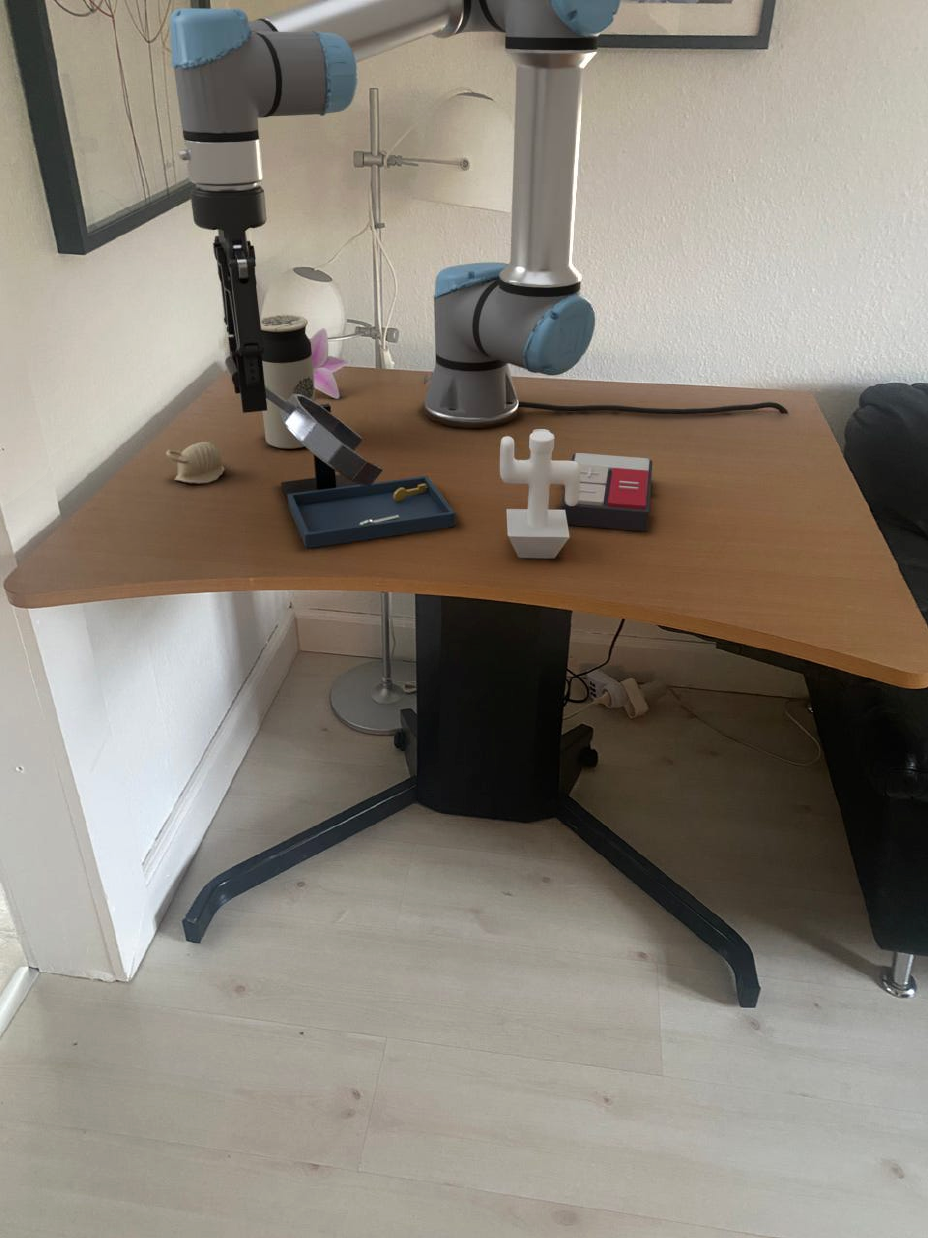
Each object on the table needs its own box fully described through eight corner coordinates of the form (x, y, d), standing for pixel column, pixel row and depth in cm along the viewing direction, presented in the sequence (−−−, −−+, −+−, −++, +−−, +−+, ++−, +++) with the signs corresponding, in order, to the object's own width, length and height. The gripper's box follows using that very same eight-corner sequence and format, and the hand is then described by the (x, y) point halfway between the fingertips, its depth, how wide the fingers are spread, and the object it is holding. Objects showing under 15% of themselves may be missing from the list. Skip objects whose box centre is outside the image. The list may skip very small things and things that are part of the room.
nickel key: (355, 529, 119) (357, 532, 119) (359, 521, 118) (361, 524, 118) (395, 520, 122) (396, 522, 122) (399, 512, 120) (400, 514, 120)
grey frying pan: (352, 456, 127) (367, 438, 126) (380, 502, 116) (396, 482, 115) (213, 358, 115) (228, 337, 114) (228, 398, 103) (245, 375, 102)
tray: (427, 488, 131) (427, 475, 130) (455, 526, 122) (455, 513, 121) (288, 506, 126) (287, 493, 125) (306, 548, 116) (304, 534, 115)
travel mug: (256, 438, 146) (242, 319, 137) (301, 426, 150) (291, 310, 141) (282, 454, 141) (269, 332, 131) (328, 441, 145) (319, 322, 136)
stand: (359, 478, 134) (355, 392, 127) (368, 492, 130) (364, 404, 123) (281, 488, 131) (272, 400, 124) (288, 503, 127) (278, 413, 120)
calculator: (561, 498, 120) (573, 447, 132) (559, 528, 123) (571, 475, 135) (649, 506, 119) (653, 454, 131) (646, 536, 121) (649, 482, 133)
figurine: (576, 564, 114) (586, 446, 106) (497, 563, 114) (501, 444, 106) (571, 536, 120) (580, 422, 112) (496, 535, 120) (500, 421, 112)
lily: (263, 403, 162) (267, 362, 154) (283, 357, 169) (289, 315, 161) (330, 426, 164) (339, 386, 156) (349, 379, 170) (357, 339, 162)
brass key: (396, 490, 125) (395, 488, 125) (393, 502, 126) (391, 501, 126) (428, 483, 129) (427, 481, 129) (425, 495, 130) (423, 493, 130)
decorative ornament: (232, 476, 134) (227, 440, 132) (176, 491, 130) (170, 455, 127) (218, 467, 137) (213, 431, 134) (163, 482, 132) (157, 445, 130)
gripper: (181, 173, 105) (208, 378, 118) (198, 200, 90) (228, 433, 102) (250, 170, 107) (269, 372, 120) (278, 197, 92) (297, 425, 105)
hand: (250, 400), depth 111 cm, fingers closed on grey frying pan, 6 cm apart
